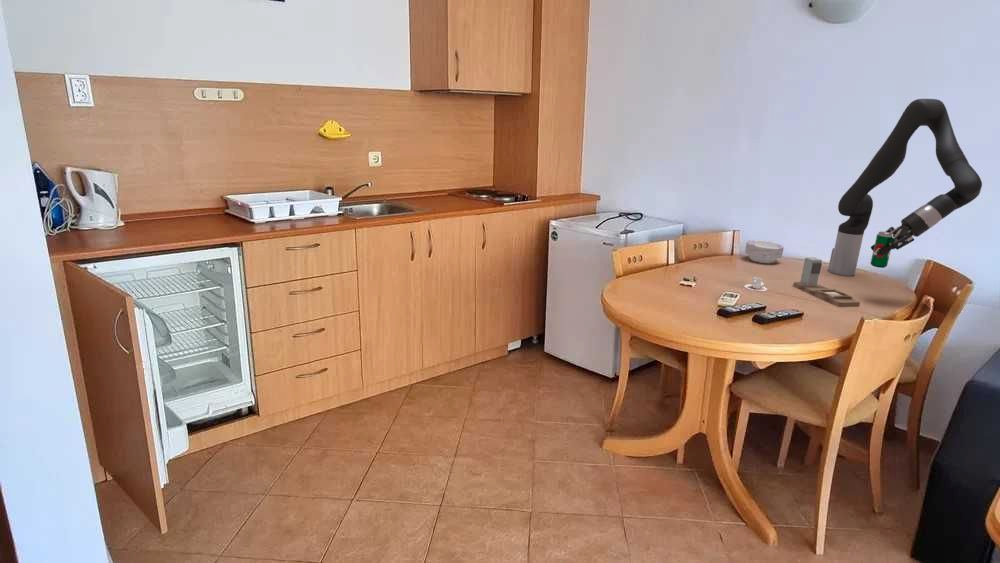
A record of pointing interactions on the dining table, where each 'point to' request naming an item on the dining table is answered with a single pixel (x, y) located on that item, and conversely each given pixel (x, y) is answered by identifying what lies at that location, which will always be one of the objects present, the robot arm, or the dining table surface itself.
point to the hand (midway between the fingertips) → (876, 251)
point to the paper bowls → (763, 251)
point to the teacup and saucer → (756, 284)
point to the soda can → (880, 242)
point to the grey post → (811, 271)
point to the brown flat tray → (829, 295)
